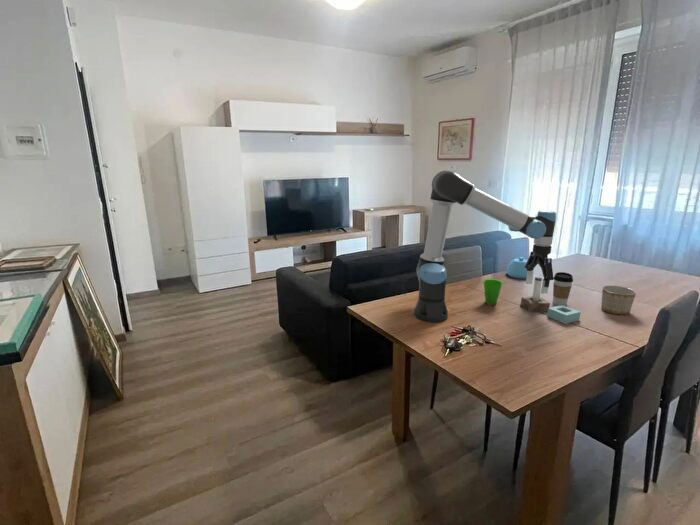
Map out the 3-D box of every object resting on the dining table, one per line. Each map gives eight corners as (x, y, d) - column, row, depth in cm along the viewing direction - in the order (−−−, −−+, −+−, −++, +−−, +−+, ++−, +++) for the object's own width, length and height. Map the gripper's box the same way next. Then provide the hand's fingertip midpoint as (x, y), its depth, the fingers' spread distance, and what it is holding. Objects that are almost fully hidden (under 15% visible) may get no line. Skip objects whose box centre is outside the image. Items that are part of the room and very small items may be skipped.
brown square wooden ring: (530, 311, 175) (531, 303, 174) (520, 304, 183) (521, 296, 182) (548, 310, 175) (550, 302, 174) (538, 303, 184) (539, 296, 183)
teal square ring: (565, 323, 161) (566, 315, 160) (547, 316, 169) (548, 308, 168) (579, 320, 165) (580, 311, 164) (561, 312, 173) (562, 304, 172)
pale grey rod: (533, 308, 178) (537, 279, 174) (530, 306, 181) (533, 277, 177) (539, 308, 178) (543, 278, 174) (535, 306, 181) (539, 276, 177)
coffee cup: (568, 301, 186) (573, 273, 182) (570, 307, 179) (574, 278, 175) (549, 299, 189) (553, 271, 185) (550, 305, 182) (554, 275, 178)
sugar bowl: (537, 279, 221) (539, 260, 218) (512, 279, 221) (514, 260, 218) (526, 272, 236) (528, 254, 232) (502, 272, 236) (504, 254, 233)
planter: (602, 303, 183) (606, 283, 180) (634, 310, 174) (638, 289, 172) (595, 311, 175) (599, 290, 172) (628, 318, 166) (633, 296, 163)
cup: (502, 306, 181) (504, 285, 178) (482, 305, 183) (484, 284, 180) (498, 300, 189) (500, 279, 187) (480, 298, 191) (482, 278, 188)
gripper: (567, 251, 159) (559, 297, 165) (535, 238, 183) (530, 279, 189) (550, 251, 159) (543, 297, 165) (521, 239, 183) (515, 280, 189)
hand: (536, 288), depth 177 cm, fingers open, 13 cm apart
